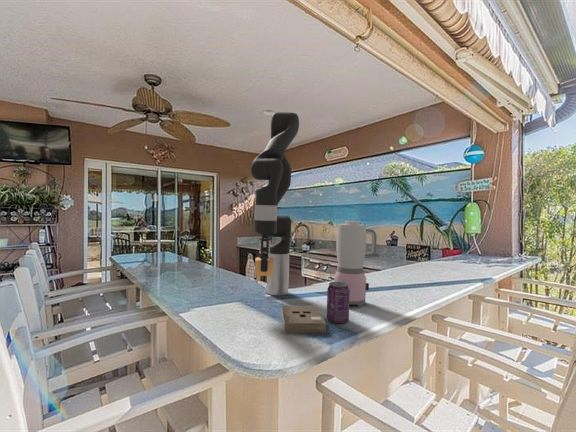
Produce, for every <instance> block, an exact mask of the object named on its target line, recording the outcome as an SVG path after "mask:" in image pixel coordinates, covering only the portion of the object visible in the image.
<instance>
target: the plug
mask: <svg viewBox="0 0 576 432" xmlns="http://www.w3.org/2000/svg"><path fill="white" fill-rule="evenodd" d="M273 267H274V259H273V258H269V259H268V270H267V272H261V259H260V256H257V257H255V259H254V276H256V282H261V277H266V284H267V283H269V276H273Z"/></svg>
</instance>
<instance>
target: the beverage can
mask: <svg viewBox="0 0 576 432" xmlns="http://www.w3.org/2000/svg"><path fill="white" fill-rule="evenodd" d="M326 292H327V294H326V295H327V296H326V297H327V298H326V320H328V321H330V323H334V324H344V323H346V322H348V321H349V318H350V317H349V316H350V304H349V293H350V290H349V288H348V284H347V283H344V282H334V281H330V282H329V283H328V287H327V290H326Z"/></svg>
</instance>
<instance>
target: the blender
mask: <svg viewBox="0 0 576 432" xmlns="http://www.w3.org/2000/svg"><path fill="white" fill-rule="evenodd" d="M335 226H336V227H337V229H336V231H337V232H336V248H335V249H336V258H337V270H336V272H335V274H334V279H333V282H344V283H347V284H348V288H349V290H350V293H349V305H357V307H358V308H363V305H364V303H366V294H367V293H366V291H369V289H370V285H369V283H368V282H367V276H366V275H365V272H364V262H365V258H366V257H370V256H375V254H376V251H377V233H376V231H375V230H373V229H369V228H367V226H366V224H359V221H358V220H357V221H356V220H345V221H344V223H338V224H335ZM367 234H370V235H371V250H370V251H369V250H366V249H367Z"/></svg>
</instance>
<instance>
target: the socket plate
mask: <svg viewBox="0 0 576 432" xmlns="http://www.w3.org/2000/svg"><path fill="white" fill-rule="evenodd" d="M280 307H281V309H280V311H281V312H280V314H281V315H280V316H281V322H282V328H283V333H284V334H285V335H290V334H291V335H294V334H295V335H296V334H302V335H303V334H305V335H307V334H309V335H310V334H312V335H313V334H314V335H316V334H320V335H321V334H324V335H325V334H327V322H326V320H325V318H324V317H323V315H322V313H321V311H320V309H319V308H318V306H317V305H281V306H280Z"/></svg>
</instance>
